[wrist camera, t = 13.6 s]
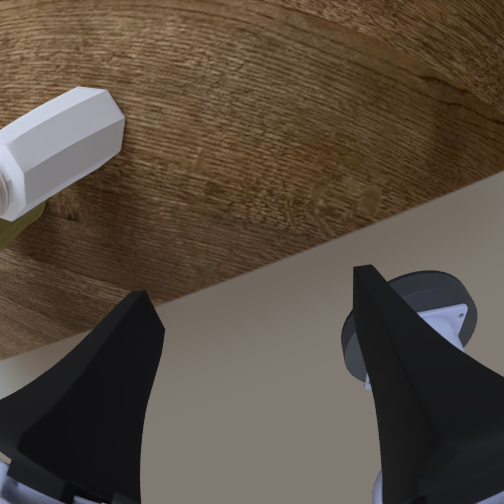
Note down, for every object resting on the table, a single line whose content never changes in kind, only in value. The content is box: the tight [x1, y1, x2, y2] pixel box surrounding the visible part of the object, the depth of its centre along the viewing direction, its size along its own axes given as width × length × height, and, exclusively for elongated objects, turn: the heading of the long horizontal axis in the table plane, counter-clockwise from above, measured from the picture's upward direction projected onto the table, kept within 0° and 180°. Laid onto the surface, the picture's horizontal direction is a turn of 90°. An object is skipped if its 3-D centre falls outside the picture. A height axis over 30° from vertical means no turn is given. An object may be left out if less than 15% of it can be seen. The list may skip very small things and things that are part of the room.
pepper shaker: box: [0, 87, 125, 222], centre depth 12 cm, size 5×5×11 cm
